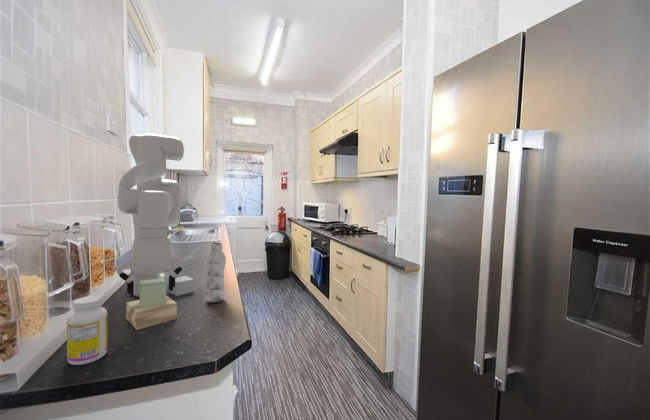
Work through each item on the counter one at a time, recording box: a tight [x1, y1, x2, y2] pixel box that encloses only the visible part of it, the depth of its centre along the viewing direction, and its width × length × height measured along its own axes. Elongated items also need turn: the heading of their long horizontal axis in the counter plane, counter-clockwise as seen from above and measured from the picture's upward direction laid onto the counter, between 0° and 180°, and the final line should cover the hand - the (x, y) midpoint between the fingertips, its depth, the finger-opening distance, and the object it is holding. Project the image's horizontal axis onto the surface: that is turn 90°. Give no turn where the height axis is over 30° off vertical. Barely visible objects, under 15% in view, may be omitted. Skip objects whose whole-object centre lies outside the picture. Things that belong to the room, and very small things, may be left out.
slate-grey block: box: [168, 275, 194, 297], centre depth 103 cm, size 6×6×5 cm
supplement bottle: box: [66, 295, 108, 366], centre depth 60 cm, size 7×7×13 cm
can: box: [133, 273, 158, 298], centre depth 99 cm, size 8×8×12 cm
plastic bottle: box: [204, 242, 227, 304], centre depth 95 cm, size 6×7×20 cm
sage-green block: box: [139, 277, 167, 308], centre depth 80 cm, size 6×6×6 cm
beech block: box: [125, 295, 178, 331], centre depth 80 cm, size 10×10×5 cm
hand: (151, 292), depth 80 cm, fingers open, 9 cm apart
